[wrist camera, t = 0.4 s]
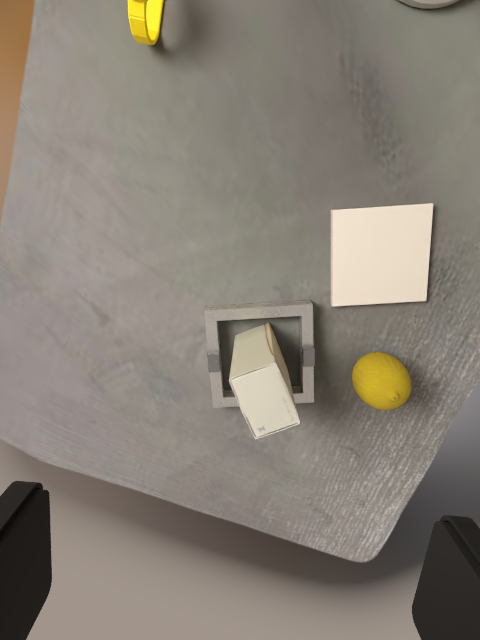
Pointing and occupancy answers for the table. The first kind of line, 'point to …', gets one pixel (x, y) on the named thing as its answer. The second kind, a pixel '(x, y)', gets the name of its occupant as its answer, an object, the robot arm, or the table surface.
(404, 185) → the table surface
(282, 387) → the skincare box
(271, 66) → the table surface
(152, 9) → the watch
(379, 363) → the lemon
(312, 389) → the grey square frame
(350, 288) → the pad
